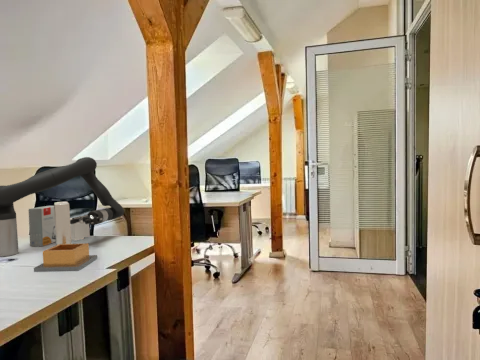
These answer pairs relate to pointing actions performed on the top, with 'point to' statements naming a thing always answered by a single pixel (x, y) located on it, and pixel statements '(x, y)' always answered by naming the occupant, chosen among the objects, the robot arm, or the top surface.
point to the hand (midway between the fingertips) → (78, 222)
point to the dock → (66, 258)
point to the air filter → (62, 223)
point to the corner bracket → (79, 230)
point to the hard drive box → (42, 226)
